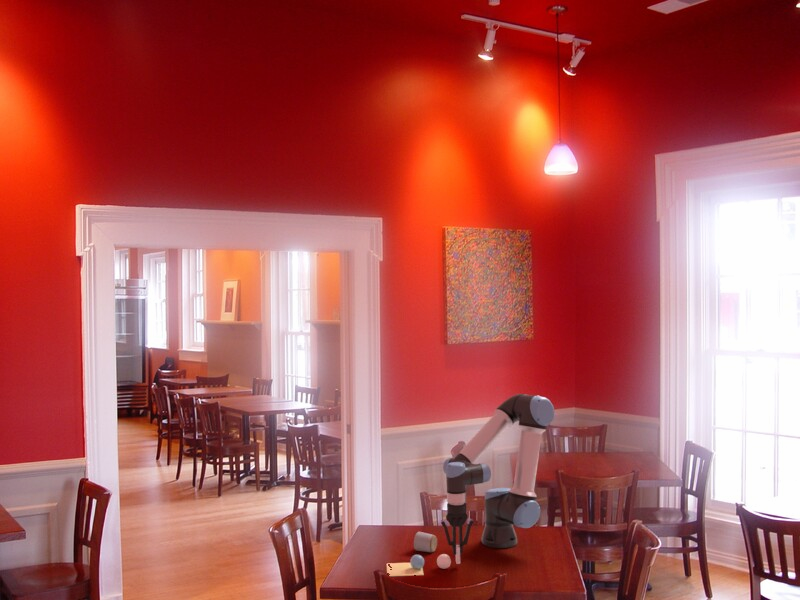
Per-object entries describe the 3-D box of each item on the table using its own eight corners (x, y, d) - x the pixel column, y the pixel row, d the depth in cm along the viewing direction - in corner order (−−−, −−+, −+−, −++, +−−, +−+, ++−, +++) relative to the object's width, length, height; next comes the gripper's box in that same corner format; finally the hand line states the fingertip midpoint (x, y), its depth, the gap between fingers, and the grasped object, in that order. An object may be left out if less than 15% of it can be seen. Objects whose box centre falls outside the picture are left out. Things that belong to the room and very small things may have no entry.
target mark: (421, 562, 312) (421, 562, 312) (423, 575, 298) (423, 574, 298) (386, 563, 312) (386, 563, 312) (387, 576, 298) (387, 576, 298)
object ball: (421, 550, 308) (408, 554, 308) (422, 555, 302) (408, 559, 302) (425, 564, 308) (412, 568, 308) (426, 569, 302) (412, 573, 302)
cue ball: (437, 550, 307) (434, 564, 307) (439, 556, 302) (436, 570, 302) (450, 552, 308) (448, 566, 308) (453, 558, 302) (450, 572, 303)
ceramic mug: (431, 555, 321) (431, 536, 321) (413, 552, 324) (413, 534, 324) (441, 547, 330) (441, 529, 330) (423, 545, 334) (423, 527, 334)
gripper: (471, 499, 309) (473, 558, 310) (439, 500, 309) (440, 559, 309) (474, 504, 302) (475, 565, 302) (440, 505, 301) (442, 566, 302)
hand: (458, 562), depth 306 cm, fingers closed
